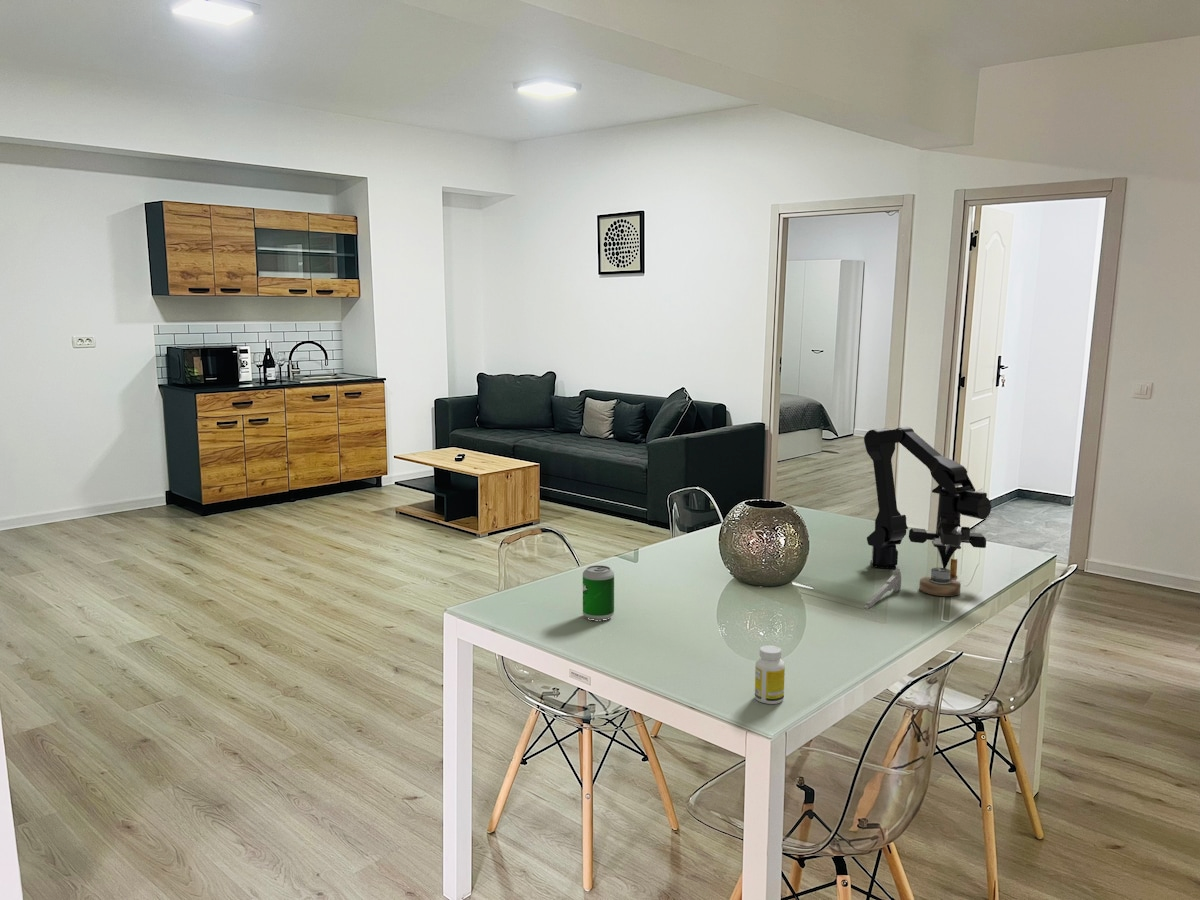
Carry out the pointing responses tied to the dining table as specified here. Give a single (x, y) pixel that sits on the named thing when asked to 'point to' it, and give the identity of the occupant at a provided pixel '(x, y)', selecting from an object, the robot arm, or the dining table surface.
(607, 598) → the soda can
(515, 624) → the dining table surface
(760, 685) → the supplement bottle
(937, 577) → the cover
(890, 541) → the robot arm
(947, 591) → the turntable
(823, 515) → the dining table surface
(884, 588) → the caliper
